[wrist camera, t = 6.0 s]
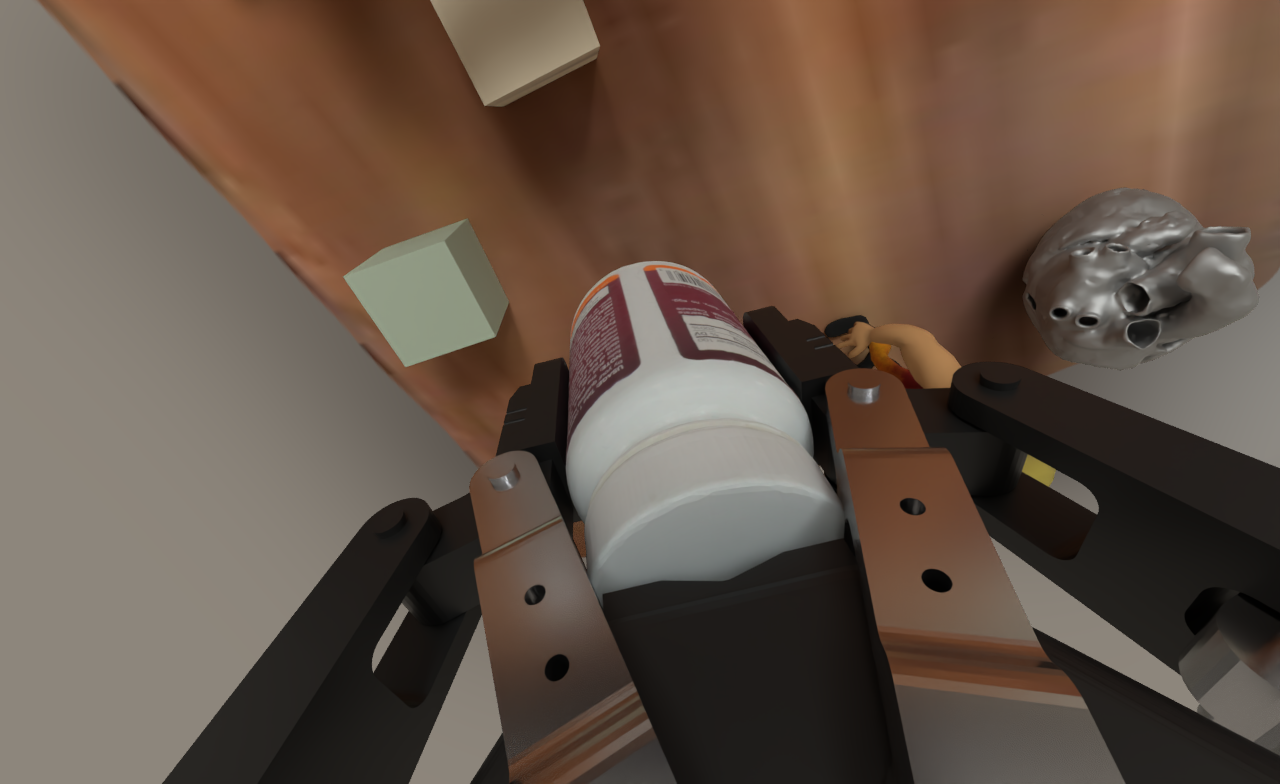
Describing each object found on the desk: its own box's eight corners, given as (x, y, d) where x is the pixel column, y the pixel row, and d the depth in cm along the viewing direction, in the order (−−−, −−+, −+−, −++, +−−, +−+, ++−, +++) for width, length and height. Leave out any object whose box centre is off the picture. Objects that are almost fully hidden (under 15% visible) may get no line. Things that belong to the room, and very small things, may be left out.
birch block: (440, -21, 19) (400, -58, 15) (544, -80, 19) (533, -135, 15) (503, 106, 22) (484, 106, 18) (596, 58, 21) (599, 45, 17)
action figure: (801, 308, 29) (968, 459, 17) (852, 274, 28) (1068, 406, 16) (854, 401, 34) (1017, 575, 21) (899, 375, 33) (1097, 539, 20)
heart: (971, 363, 33) (1189, 453, 22) (933, 262, 28) (1184, 315, 18) (1090, 269, 32) (1375, 316, 21) (1070, 148, 27) (1422, 133, 17)
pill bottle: (603, 420, 15) (623, 697, 8) (543, 290, 12) (495, 532, 5) (741, 375, 15) (888, 624, 8) (708, 232, 12) (886, 409, 5)
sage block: (383, 248, 25) (342, 276, 21) (468, 218, 24) (444, 240, 20) (432, 327, 27) (405, 367, 23) (509, 301, 27) (496, 336, 23)
